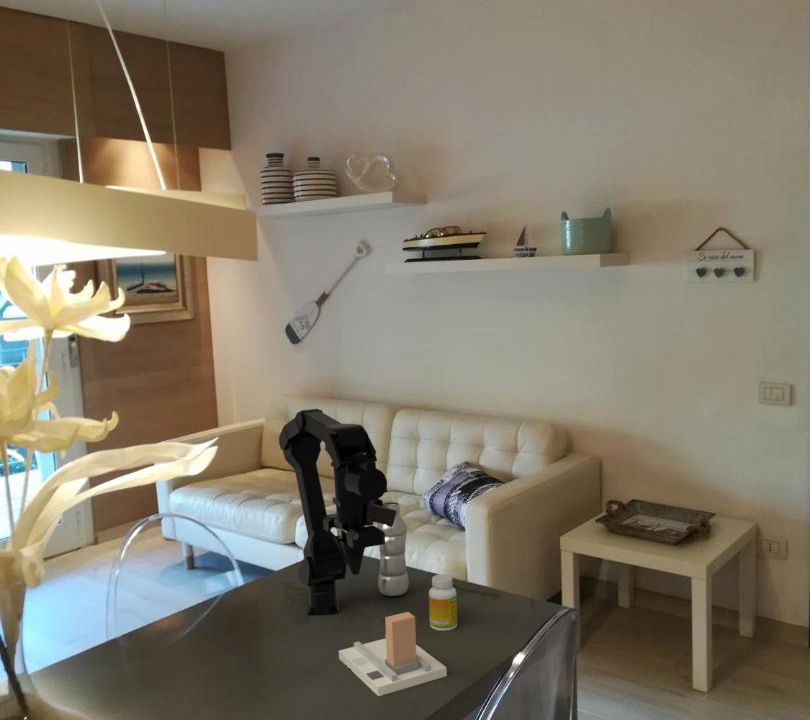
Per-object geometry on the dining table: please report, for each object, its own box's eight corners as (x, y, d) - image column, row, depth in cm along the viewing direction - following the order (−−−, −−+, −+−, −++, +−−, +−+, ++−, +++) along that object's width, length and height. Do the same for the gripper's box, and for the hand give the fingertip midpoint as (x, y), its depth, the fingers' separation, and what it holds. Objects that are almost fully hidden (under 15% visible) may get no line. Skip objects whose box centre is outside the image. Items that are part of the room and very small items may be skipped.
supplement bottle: (455, 632, 156) (453, 583, 155) (427, 631, 157) (426, 582, 156) (459, 621, 161) (457, 573, 160) (432, 619, 162) (430, 572, 161)
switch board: (339, 658, 146) (338, 645, 146) (402, 641, 152) (402, 628, 152) (378, 696, 132) (377, 681, 132) (446, 676, 138) (446, 661, 138)
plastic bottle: (381, 588, 180) (377, 500, 178) (411, 588, 179) (408, 500, 177) (375, 599, 174) (372, 508, 172) (407, 600, 173) (404, 508, 171)
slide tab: (385, 666, 139) (383, 615, 139) (407, 659, 141) (405, 610, 141) (395, 675, 136) (394, 624, 135) (418, 669, 138) (417, 618, 137)
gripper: (409, 494, 147) (414, 579, 148) (372, 479, 164) (377, 556, 165) (351, 503, 143) (356, 590, 143) (320, 487, 160) (325, 565, 161)
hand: (355, 574), depth 153 cm, fingers closed
